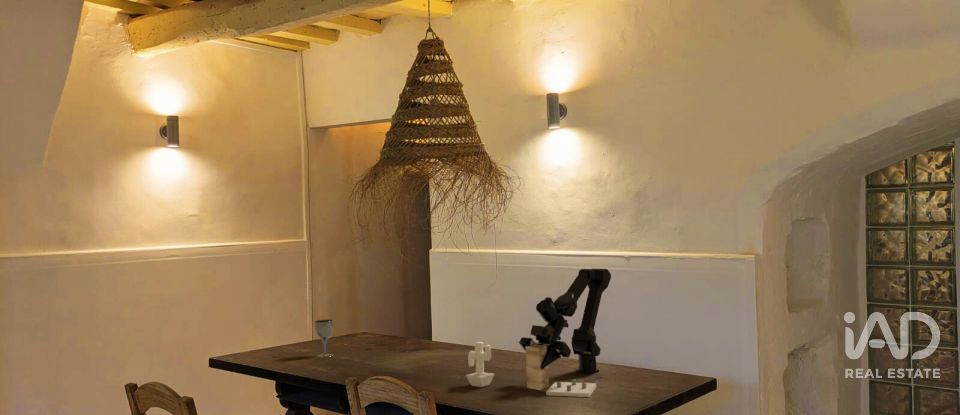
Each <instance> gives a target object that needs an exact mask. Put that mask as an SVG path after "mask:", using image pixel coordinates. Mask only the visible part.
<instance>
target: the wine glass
mask: <svg viewBox="0 0 960 415" xmlns="http://www.w3.org/2000/svg"><path fill="white" fill-rule="evenodd" d="M313 324H314V330H315V334H316V336H318V338H319V339H320V340H321V342H322V344H323V353H321V354H318V355H316V357H317V358H331V357H333V355H334V354H332V353H327V348H326V347H327V342H328V340H329V339H330V337H331V336H332V335H333V332H334V319H316V320H314V323H313Z"/></svg>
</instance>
